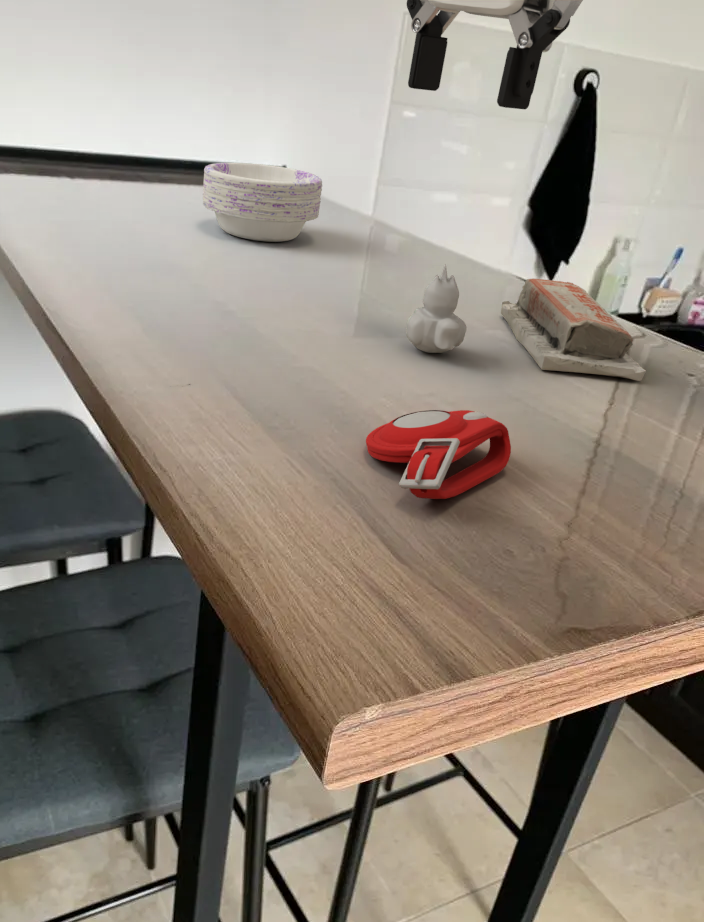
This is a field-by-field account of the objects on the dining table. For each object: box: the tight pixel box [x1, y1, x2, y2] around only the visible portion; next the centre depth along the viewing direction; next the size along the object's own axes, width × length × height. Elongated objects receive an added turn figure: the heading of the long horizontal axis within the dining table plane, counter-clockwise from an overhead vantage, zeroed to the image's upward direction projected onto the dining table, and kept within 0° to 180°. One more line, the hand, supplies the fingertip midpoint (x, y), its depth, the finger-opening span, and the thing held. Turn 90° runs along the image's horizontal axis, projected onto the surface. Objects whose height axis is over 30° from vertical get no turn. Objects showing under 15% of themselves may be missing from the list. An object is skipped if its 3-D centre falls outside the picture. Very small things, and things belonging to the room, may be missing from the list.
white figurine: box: [405, 263, 467, 354], centre depth 78 cm, size 5×7×8 cm
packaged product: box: [500, 278, 647, 382], centre depth 86 cm, size 18×5×10 cm
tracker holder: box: [365, 409, 512, 500], centre depth 57 cm, size 12×4×10 cm
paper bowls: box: [202, 162, 323, 243], centre depth 112 cm, size 15×15×8 cm
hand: (465, 98), depth 69 cm, fingers open, 9 cm apart
